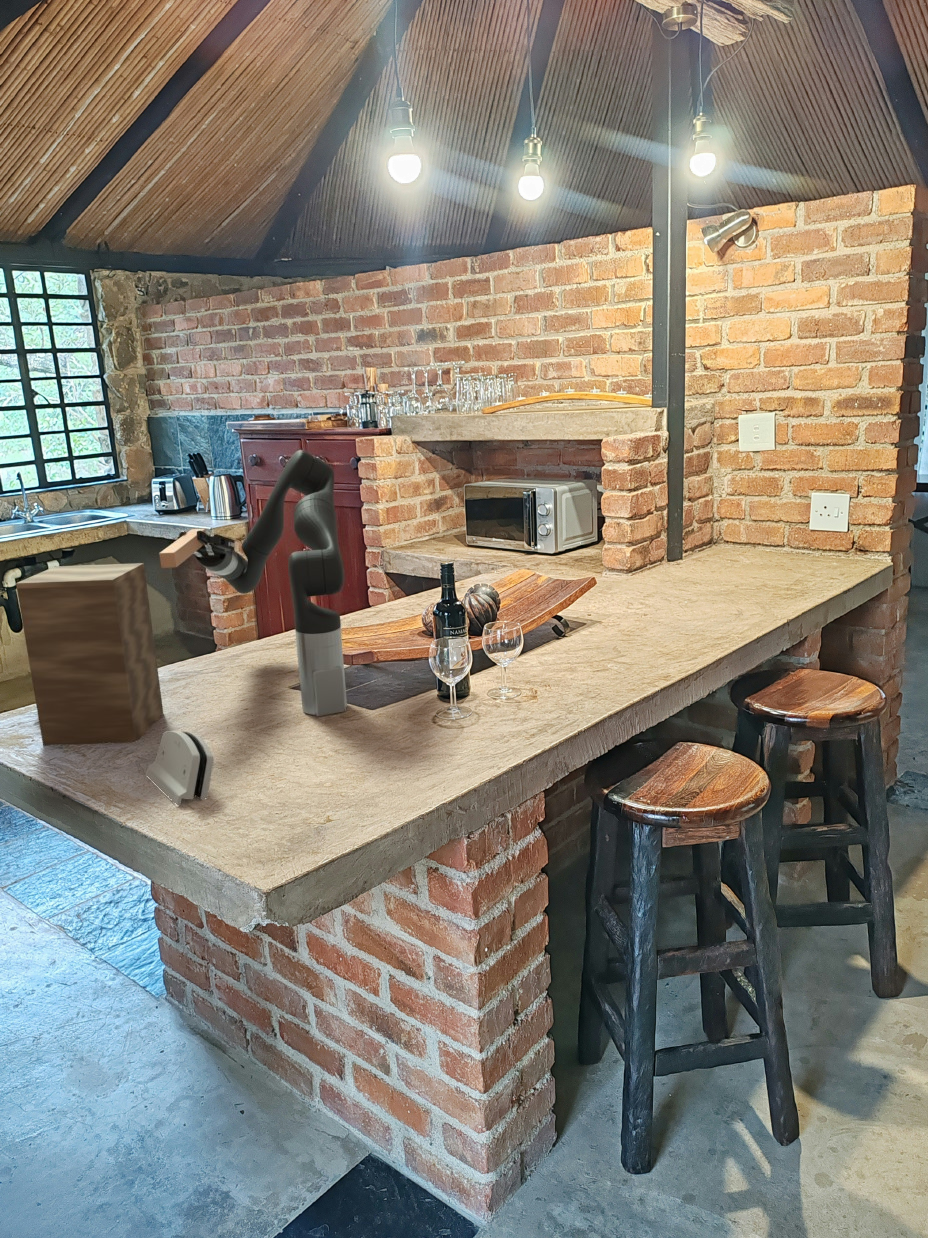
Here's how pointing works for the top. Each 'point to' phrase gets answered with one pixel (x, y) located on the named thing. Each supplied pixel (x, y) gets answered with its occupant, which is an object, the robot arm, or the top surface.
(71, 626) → the pedestal
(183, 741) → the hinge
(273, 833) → the top surface
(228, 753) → the top surface
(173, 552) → the tan block
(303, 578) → the robot arm
